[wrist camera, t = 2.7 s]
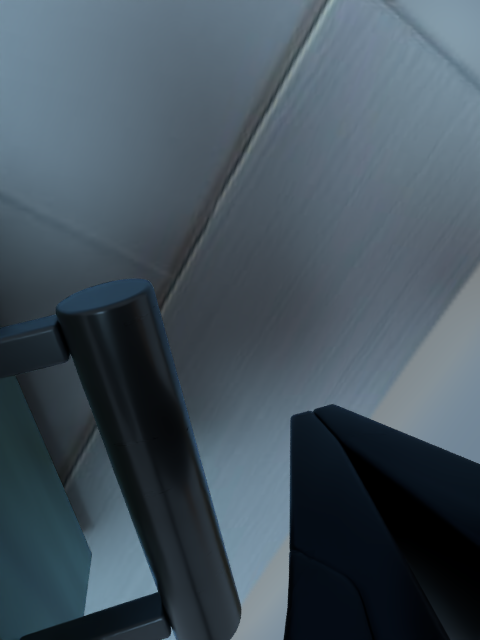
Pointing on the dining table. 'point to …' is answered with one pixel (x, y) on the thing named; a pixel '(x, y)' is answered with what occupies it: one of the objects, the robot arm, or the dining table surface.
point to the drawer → (130, 470)
